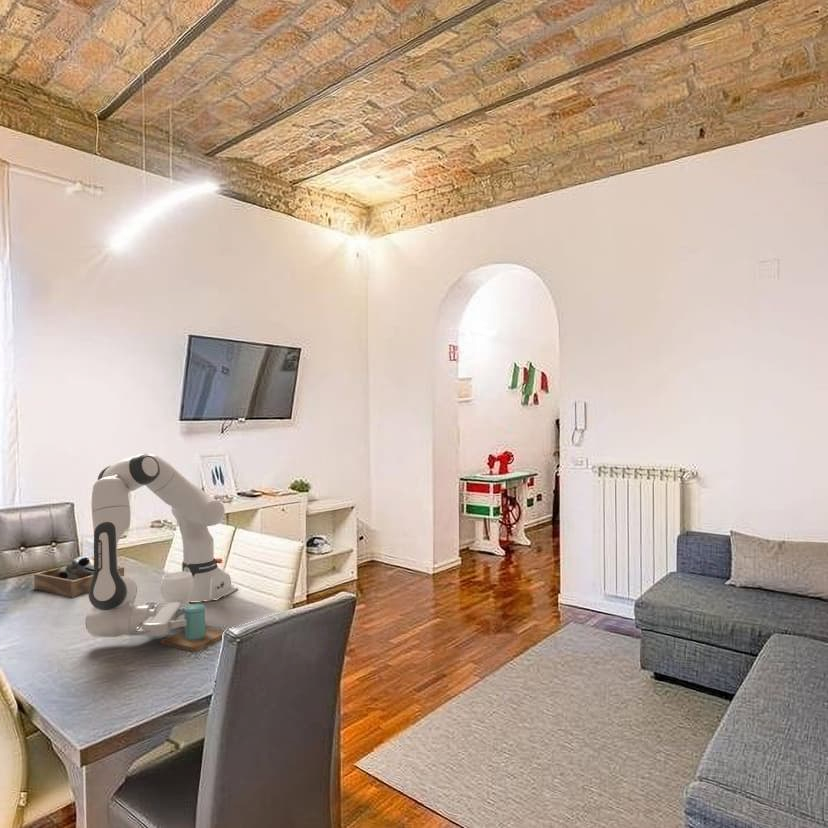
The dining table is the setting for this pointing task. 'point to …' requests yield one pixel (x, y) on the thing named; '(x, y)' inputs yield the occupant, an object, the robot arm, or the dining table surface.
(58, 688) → the dining table surface
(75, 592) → the tray
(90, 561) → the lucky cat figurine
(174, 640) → the square wooden board
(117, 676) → the dining table surface
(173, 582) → the cup
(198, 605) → the teal octagonal jar
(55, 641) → the dining table surface
